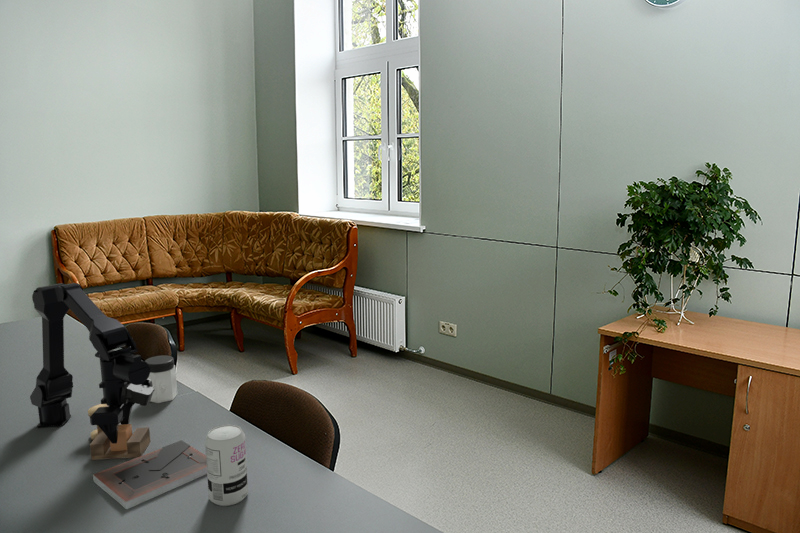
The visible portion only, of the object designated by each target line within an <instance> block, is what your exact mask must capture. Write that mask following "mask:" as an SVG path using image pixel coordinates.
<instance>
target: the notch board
mask: <svg viewBox="0 0 800 533" xmlns="http://www.w3.org/2000/svg"><path fill="white" fill-rule="evenodd" d="M91 441H92V442H91V443H90V444H89V449H90V456H91V457H90V458H91V461H95V460H97V461H98V460H111V459H112V460H113V459H135V458H137V457H140V456H143V455H144V453H145V451H146V449H147V448H148V446H149V445H150V443H151V432H150V427H149V426H146V427H145V426H144V427H136V429H135V430H134V432H132V436H131V437H130V439H129V440H128V441H127V450H123V451H111V446H110V440H109V439H108V437H107V436H106V435H105V433H104V432H103V431H102V430H101V432H100V433H99V434H98V435H97V436H96V438H95V439H94V440H91Z"/></svg>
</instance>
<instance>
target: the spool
mask: <svg viewBox="0 0 800 533" xmlns="http://www.w3.org/2000/svg"><path fill="white" fill-rule="evenodd" d="M99 407H108V405H107V404H101V403H99V404H96V405H93V406H91V407H90V408H89V409H88V410H87V415H88V417H89V418H90V416H91V415H92V414H93V413H94V412H95V411H96V410H97V409H98V408H99ZM100 432H101V429H100V427H99V426H98V425H96V429H94V430H92V431H91V432H90V433H89V434H90V440H91V441H93V440H94V439H95V438H96V436H97V435H98V434H99V433H100Z"/></svg>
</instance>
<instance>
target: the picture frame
mask: <svg viewBox="0 0 800 533" xmlns="http://www.w3.org/2000/svg"><path fill="white" fill-rule="evenodd" d="M205 475H207V463H206V454H204V453H203V452H201V451H199V449H196V448H194V447H193V446H191V444H189V443H187V442H185V441H184V440H182V439H181V440H178V441H176V442H173V443H169V444H168V445H165V446H162V447H161V448H159V449H156V450H154V451H151V452H149V453H148V452H147V453H146V454H143V455H142V456H140V457H134V458H131V459H130V460H128V461H125V462H122V463H119V464H116V465H114V466H112V467H109V468H106V469H104V470H101V471H99V472H96V473H94V474H92V478H93V482H94V483H95V484H96V485H97V486H98V487H100V488H101V489H102V490H103V491H104V492H105V493H106V494H108V495H109V496H110V497H111V498H113V499H114V500H115V501H116V502H117V503H118V504H120V505H121V506H122V507H123V508H124V509H125V510H129V509H131V508H134V507H135V506H137V505H140V504H142V503H145V502H146V501H149V500H151V499H153V498H155V497H158V496H160V495H163V494H164V493H167V492H170V491H172V490H173V489H175V488H178V487H181V486H183V485H185V484H187V483H190V482H192V481H193V480H194V481H195V480H196V479H198V478H200V477H203V476H205Z"/></svg>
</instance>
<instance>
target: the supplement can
mask: <svg viewBox="0 0 800 533" xmlns="http://www.w3.org/2000/svg"><path fill="white" fill-rule="evenodd" d="M204 442H205V443H204V445H205V455H206V463H207V474H206V475H207V476H206V477H207V488H208V499H209V501H210V502H211V503H213V504H215V505H217V506H221V507H227V506H228V507H229V506H233V505H235V504H238V503H241V502H242V501H243V500H245V498H246V497H247V495H248V494H249V481H248V479H249V478H248V466H247V465H248V464H247V461H248V460H247V447H246V434H245V432H244V431H243V429H242V428H241V426H239V425H234V424H224V425H219V426H216V427H214V428H212V429H210V430H209V431H208V432H207V436H206V437H205V440H204Z"/></svg>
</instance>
